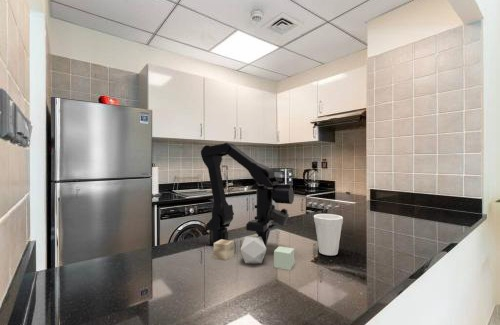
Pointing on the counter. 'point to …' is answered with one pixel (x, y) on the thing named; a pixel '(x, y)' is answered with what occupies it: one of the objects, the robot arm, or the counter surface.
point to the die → (253, 250)
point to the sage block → (284, 258)
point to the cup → (328, 232)
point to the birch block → (223, 249)
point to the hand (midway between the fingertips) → (264, 245)
